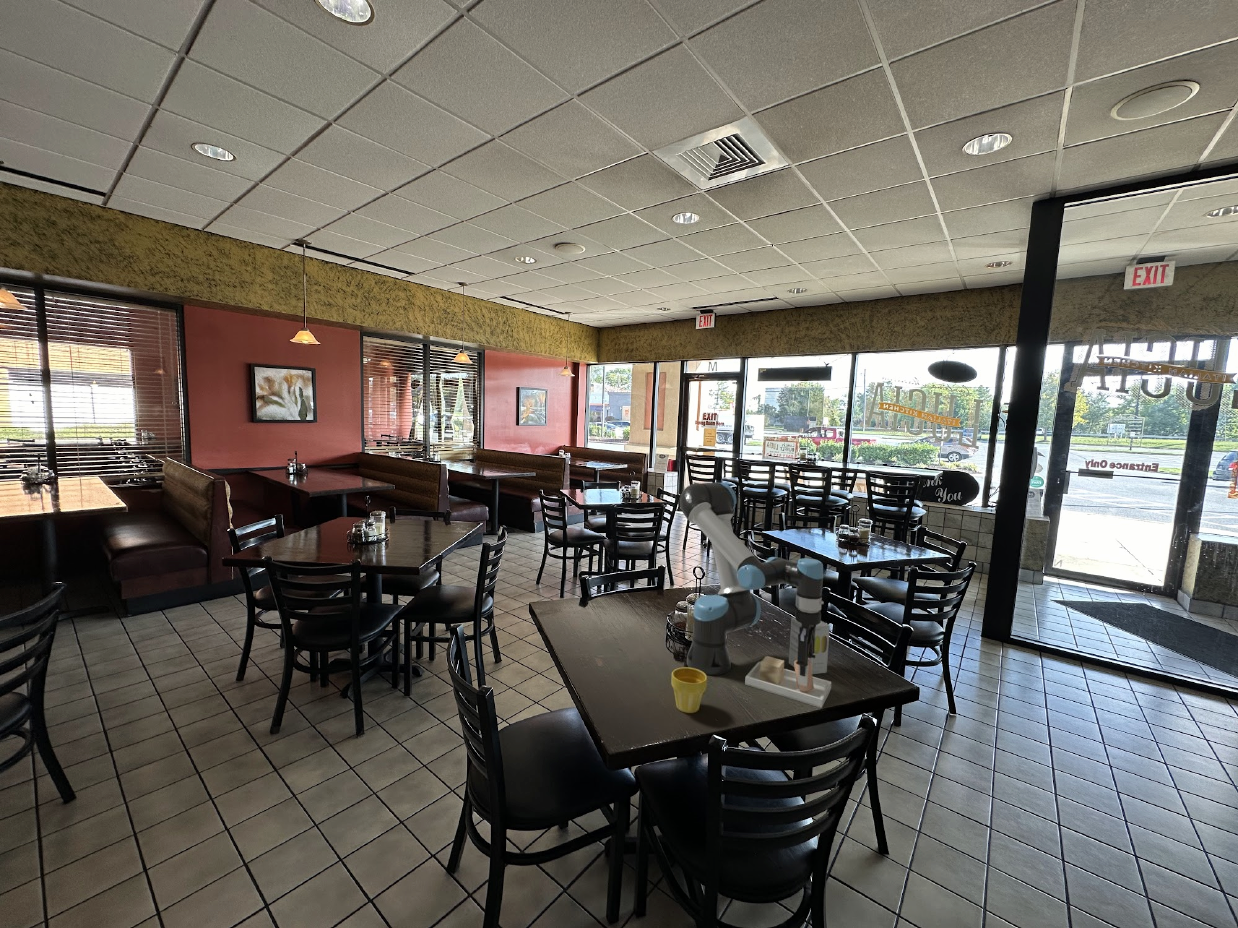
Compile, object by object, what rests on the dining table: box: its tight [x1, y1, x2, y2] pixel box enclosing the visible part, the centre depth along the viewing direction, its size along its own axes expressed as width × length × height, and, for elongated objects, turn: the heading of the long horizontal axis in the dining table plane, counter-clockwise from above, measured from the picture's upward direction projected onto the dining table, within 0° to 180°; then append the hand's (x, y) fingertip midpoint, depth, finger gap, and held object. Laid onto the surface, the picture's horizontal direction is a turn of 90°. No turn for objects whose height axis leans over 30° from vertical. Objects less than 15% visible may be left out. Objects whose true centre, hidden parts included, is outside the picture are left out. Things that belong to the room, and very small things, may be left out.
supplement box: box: [788, 617, 831, 675], centre depth 176 cm, size 10×9×17 cm
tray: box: [744, 661, 832, 709], centre depth 163 cm, size 24×14×3 cm, turn 57°
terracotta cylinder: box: [794, 660, 814, 691], centre depth 160 cm, size 5×5×8 cm
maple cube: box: [760, 655, 785, 685], centre depth 166 cm, size 6×6×6 cm
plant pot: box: [670, 666, 708, 714], centre depth 149 cm, size 10×10×10 cm
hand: (804, 680), depth 160 cm, fingers closed on terracotta cylinder, 5 cm apart
